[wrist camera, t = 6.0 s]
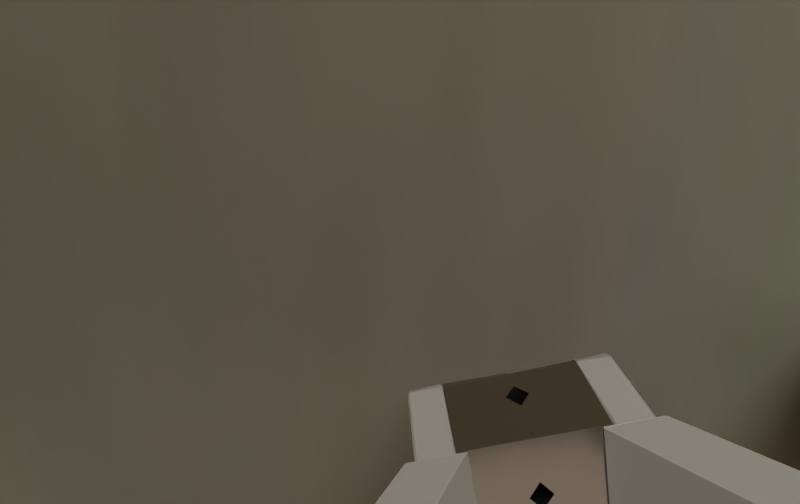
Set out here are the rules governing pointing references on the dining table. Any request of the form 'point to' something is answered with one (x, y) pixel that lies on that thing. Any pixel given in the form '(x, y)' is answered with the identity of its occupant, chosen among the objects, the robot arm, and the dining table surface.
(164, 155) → the dining table surface
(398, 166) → the dining table surface
